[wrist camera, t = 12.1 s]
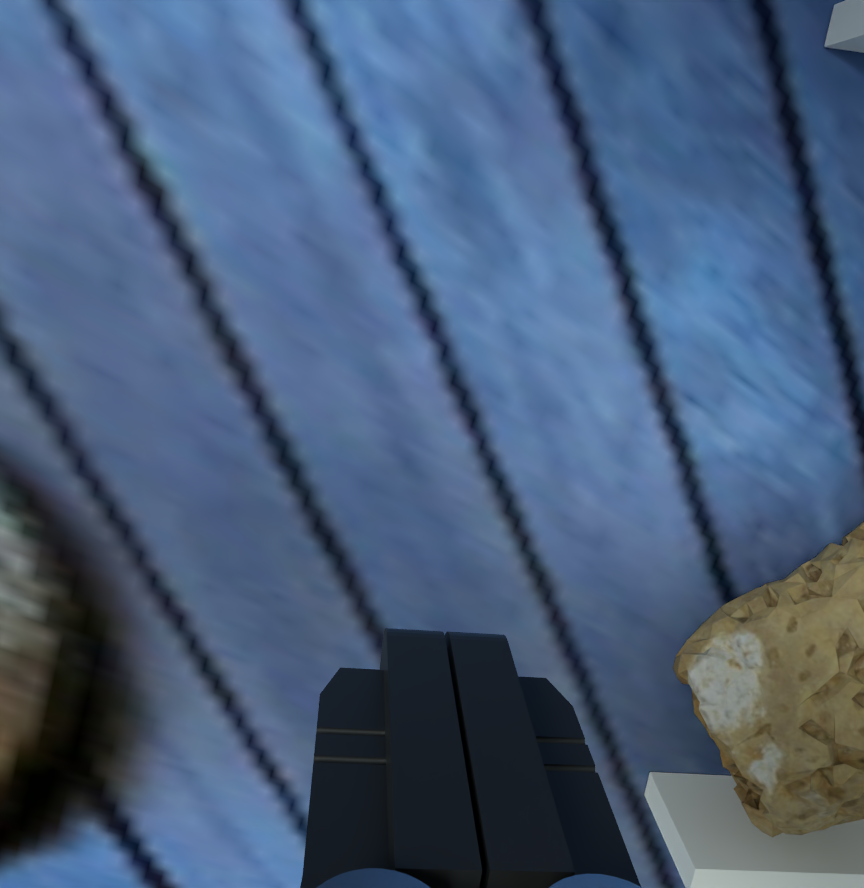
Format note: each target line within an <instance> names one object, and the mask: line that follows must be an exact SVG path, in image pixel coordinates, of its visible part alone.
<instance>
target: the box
mask: <svg viewBox="0 0 864 888" xmlns="http://www.w3.org/2000/svg"><path fill="white" fill-rule="evenodd" d="M824 47H827V48H834V49H841V50H848V51H855V52H861V53H864V0H845V1H843V2H840V3H837V4H835V5H834V8H833V12H832V16H831V20H830V24H829V28H828V33H827V37H826V41H825V45H824ZM736 785H737V784H736V782H735V781H734V779H733V777H732V776H726V775H705V774H684V773H662V772H650V773H649V778H648V782H647V786H646V790H645V794H644V795H645V797H646V800H647V802H648V804H649V806H650V809H651V811H652V813H653V815H654V818H655V820H656V822H657V825H658V827H659V829H660V831H661V834H662V836H663V838H664V840H665V843H666V845H667V847H668V849H669V852H670V854H671V856H672V858H673V861H674V863H675V865H676V867H677V870H678V872H679V874H680V876H681V879H682V881H683V883H684V885H685V888H864V819H863V820H858V821H853V822H848V823H844V824H839V825H834V826H831V827H829V828H827V829H825V830H819V831H814V832H810V833H807V834H804V835H792V834H785V833H784V832H783V833H781V834H779V835H777V836H775V837H771V836H769V835H767V834H765V833H763V832H762V831H760V830H759V829H758V828H757V827H756V826H755V825H753V824H752V823H751V821H750V819H749V817H748V815H747V813H746V812H745V810H744V808H743V806H742V804H741V803H742V802H741V800H740V799H739V797H738V795H737V794H736V792H735V790H734V788H735V787H736Z"/></svg>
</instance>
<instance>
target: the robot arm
mask: <svg viewBox="0 0 864 888" xmlns="http://www.w3.org/2000/svg"><path fill="white" fill-rule="evenodd" d="M300 888H642V887H641V885H640V883H639V881H638V878H637V875H636V873H635V870H634V867H633V865H632V862H631V859H630V857H629V854H628V852H627V849H626V846H625V844H624V841H623V838H622V836H621V833H620V830H619V828H618V825H617V822H616V820H615V817H614V814H613V812H612V809H611V806H610V804H609V801H608V798H607V796H606V793H605V791H604V788H603V785H602V783H601V780H600V777H599V775H598V773H595V764H594V761H593V759H592V756H591V753H590V751H589V748H588V745H585V738H584V735H583V732H582V730H581V727H580V724H579V722H578V719H577V716H576V714H575V711H574V708H573V706H572V705H571V704H570V703H569V702H568V701H567V700H566V699H565V698H564V697H563V695H562V694H561V693H560V692H559V691H558V690H557V689H556V688H555V687H554V686H553V685H552V684H551V683H550V682H549V681H548V680H547V679H546V678H534V677H518V675H517V671H516V668H515V664H514V661H513V658H512V654H511V651H510V647H509V644H508V641H507V638H506V636H505V635H497V634H480V633H462V632H446V634H445V635H444V633H443V632H441V631H423V630H406V629H388V628H386V629H385V631H384V637H383V644H382V653H381V663H380V670H375V669H355V668H340V669H339V670H338V671H337V673H336V674H335V675H334V677H333V678H332V679H331V681H330V682H329V683H328V685H327V686H326V687H325V688H324V690H323V691H322V692H321V694H320V701H319V711H318V721H317V732H316V742H315V753H314V763H313V774H312V784H311V795H310V805H309V815H308V826H307V836H306V847H305V857H304V868H303V877H302V882H301V887H300Z"/></svg>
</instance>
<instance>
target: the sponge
mask: <svg viewBox="0 0 864 888" xmlns="http://www.w3.org/2000/svg"><path fill="white" fill-rule="evenodd" d="M673 670H674V672H675V674H676V676H677V678H678V679H679V681H680V682H681V683H682V684H689V685H690V687H691V689H692V695H693V706H694V713H695V715H696V716H697V717H698V719H699V720H700V721H701V723H702V724H703V725H704V727H705V728H706V730H707V732H708V734H709V736H710V737H711V738H712V739H713V740H714V742H715V743H716V745H717V746H718V748H719V749H720V755H721V760H722V764H723V767H724V768H726V769H728V770H729V772H730V774H731V775H732V777H733V779H734V781H735V782H736V784H737V785H736V787H735V788H734V790H735V792H736V794H737V795H738V797H739V799H740V800H741V802H742V803H741V804H742V806H743V808H744V810H745V812H746V813H747V815H748V817H749V819H750V821H751V823H752V824H753V825H755V826H756V827H757V828H758V829H759V830H760V831H762V832H763V833H765V834H767V835H769V836H771V837H775V836H777V835H779V834H781V833H783V832H784V833H785V834H792V835H804V834H807V833H810V832H814V831H819V830H825V829H827V828H829V827H831V826H834V825H839V824H844V823H848V822H853V821H858V820H863V819H864V521H863V522H862V523H861V524H860V525H859V526H857V527H856V528H855V529H854V530H853V531H851V532H850V533H849V534H847V535H846V536H845V537H843V541H842V546H840V545H837V544H833V543H830V544H828V545H827V546H826V547H825V548H824V549H823V550H822V551H821V552H820V553H819V554H818V555H817V556H816V557H815V558H814V559H812V560H810V561H808V562H806V563H804V564H802V565H801V566H800V567H798V568H797V569H796V570H795V571H793V572H792V573H791V574H790V575H789V576H787V577H786V578H785V579H782V580H778V581H774V582H770V583H766V584H765V585H763V586H762V587H759V588H756V589H754V590H752V591H750V592H748V593H746V594H744V595H742V596H740V597H738V598H736V599H734V600H732V601H730V602H728V603H727V604H725V605H723V606H722V607H721V608H720V609H718V610H717V611H716V612H715V613H714V614H713V615H712V616H711V617H709V618H708V619H707V620H706V621H705V622H704V623H703V624H702V625H701V626H700V627H699V628H698V629H697V630H696V631H695V632H694V633H693V635H692V636H691V637H690V638H689V639H687V641H686V643H685V644H684V645H683V647H682V648H681V649H680V651H679V652H678V654H677V655H676V658H675V662H674V666H673Z"/></svg>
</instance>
